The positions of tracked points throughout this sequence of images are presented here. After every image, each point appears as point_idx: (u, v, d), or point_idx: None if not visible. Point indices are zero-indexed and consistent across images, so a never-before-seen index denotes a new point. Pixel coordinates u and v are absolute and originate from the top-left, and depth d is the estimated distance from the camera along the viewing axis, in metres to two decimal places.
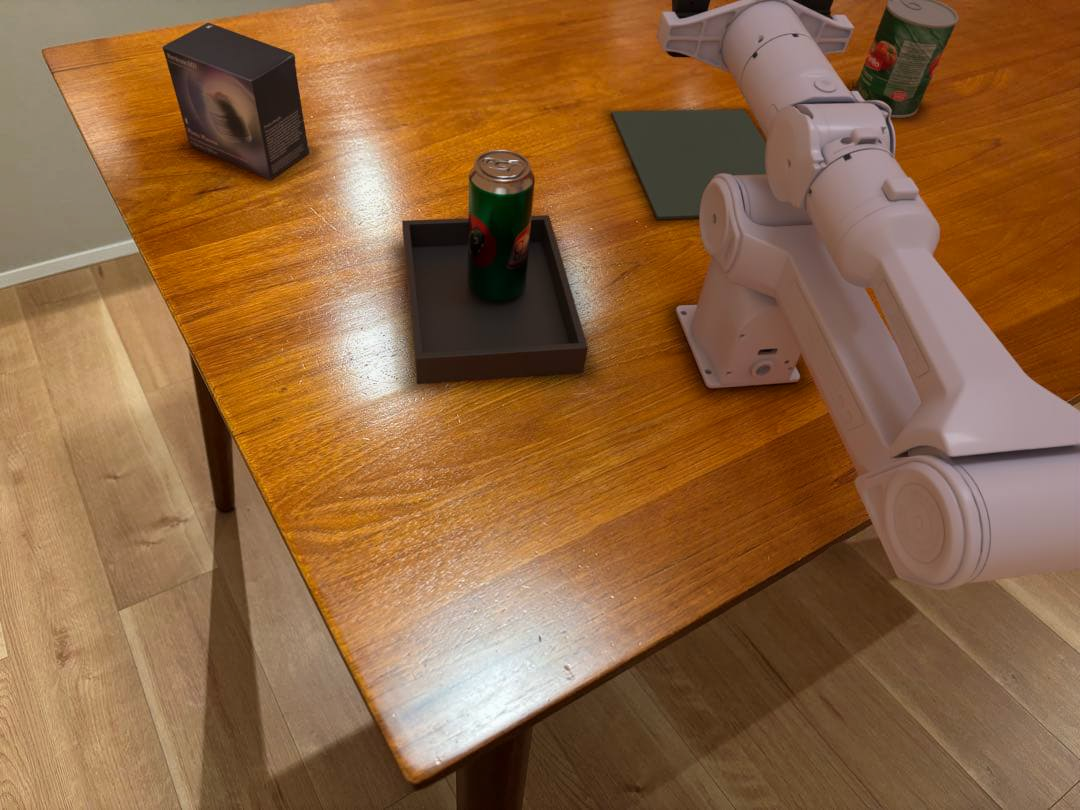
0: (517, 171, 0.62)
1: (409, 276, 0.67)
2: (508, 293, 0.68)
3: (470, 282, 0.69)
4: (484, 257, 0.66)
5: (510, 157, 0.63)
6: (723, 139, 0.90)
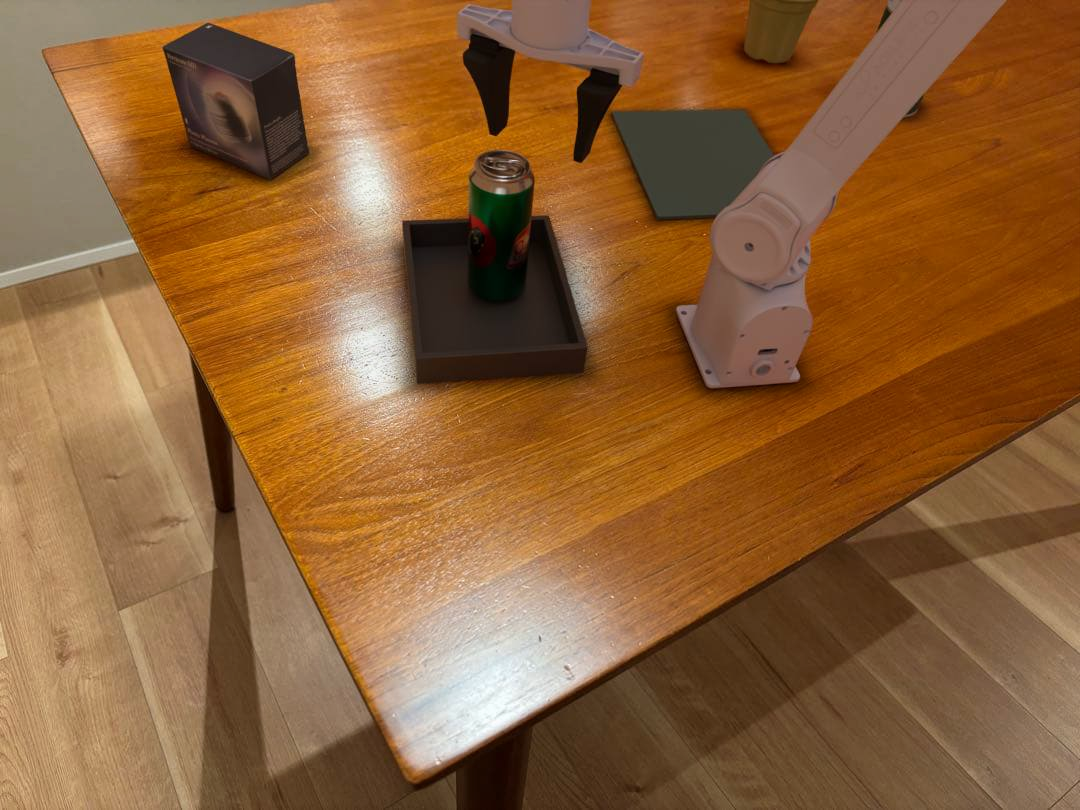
0: (517, 171, 0.62)
1: (409, 276, 0.67)
2: (508, 293, 0.68)
3: (470, 282, 0.69)
4: (484, 257, 0.66)
5: (510, 157, 0.63)
6: (723, 139, 0.90)
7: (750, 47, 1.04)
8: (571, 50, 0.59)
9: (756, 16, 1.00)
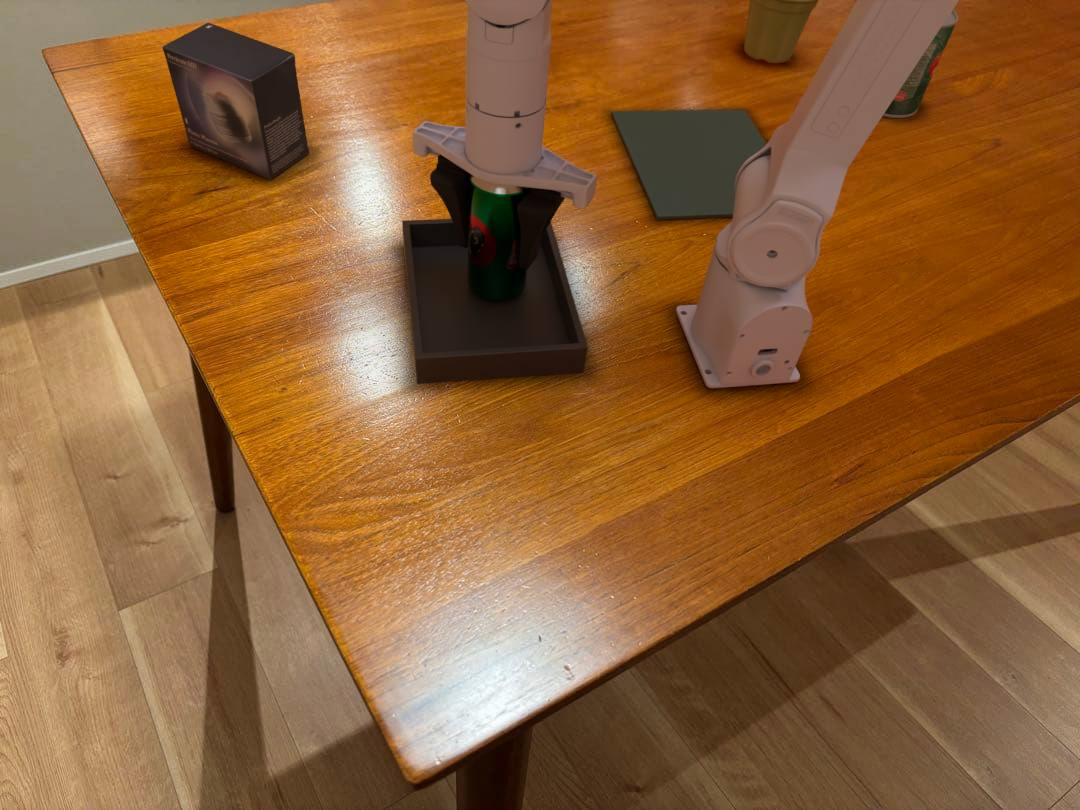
0: None
1: (409, 276, 0.67)
2: (508, 293, 0.68)
3: (470, 282, 0.69)
4: (484, 257, 0.66)
5: None
6: (723, 139, 0.90)
7: (750, 47, 1.04)
8: (524, 174, 0.60)
9: (756, 16, 1.00)
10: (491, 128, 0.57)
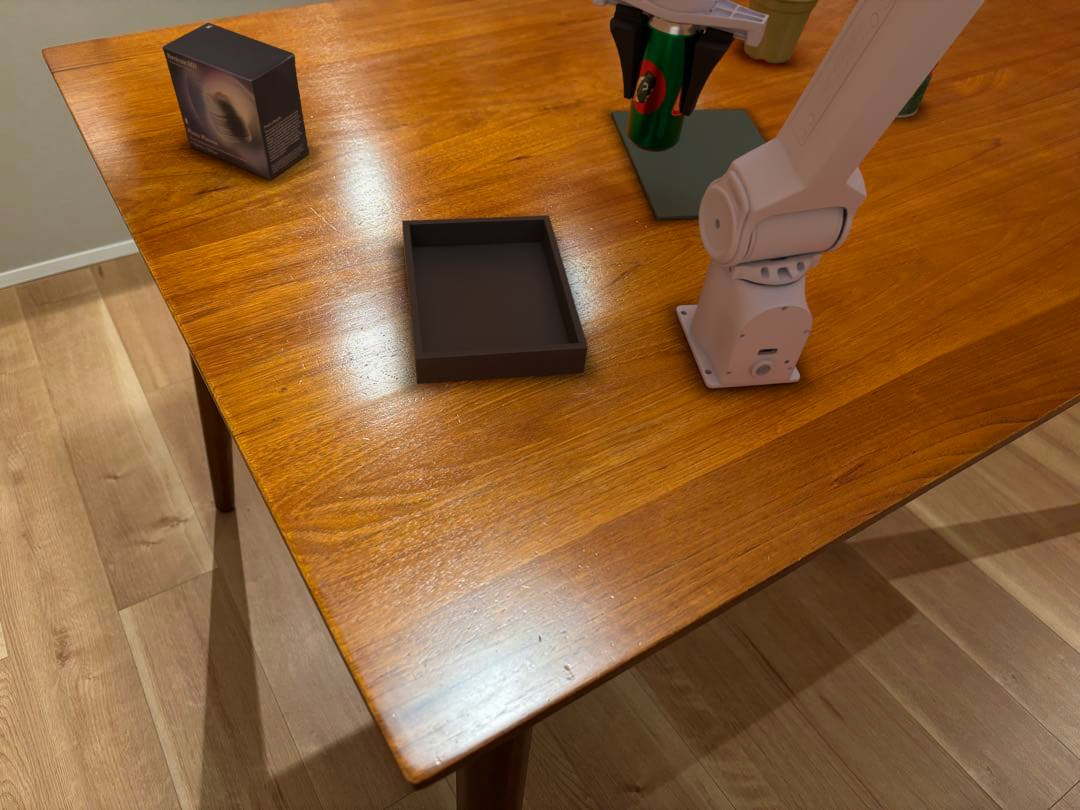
0: None
1: (409, 276, 0.67)
2: (667, 141, 0.74)
3: (631, 133, 0.75)
4: (652, 103, 0.72)
5: None
6: (723, 139, 0.90)
7: (750, 47, 1.04)
8: (704, 13, 0.66)
9: None
10: None
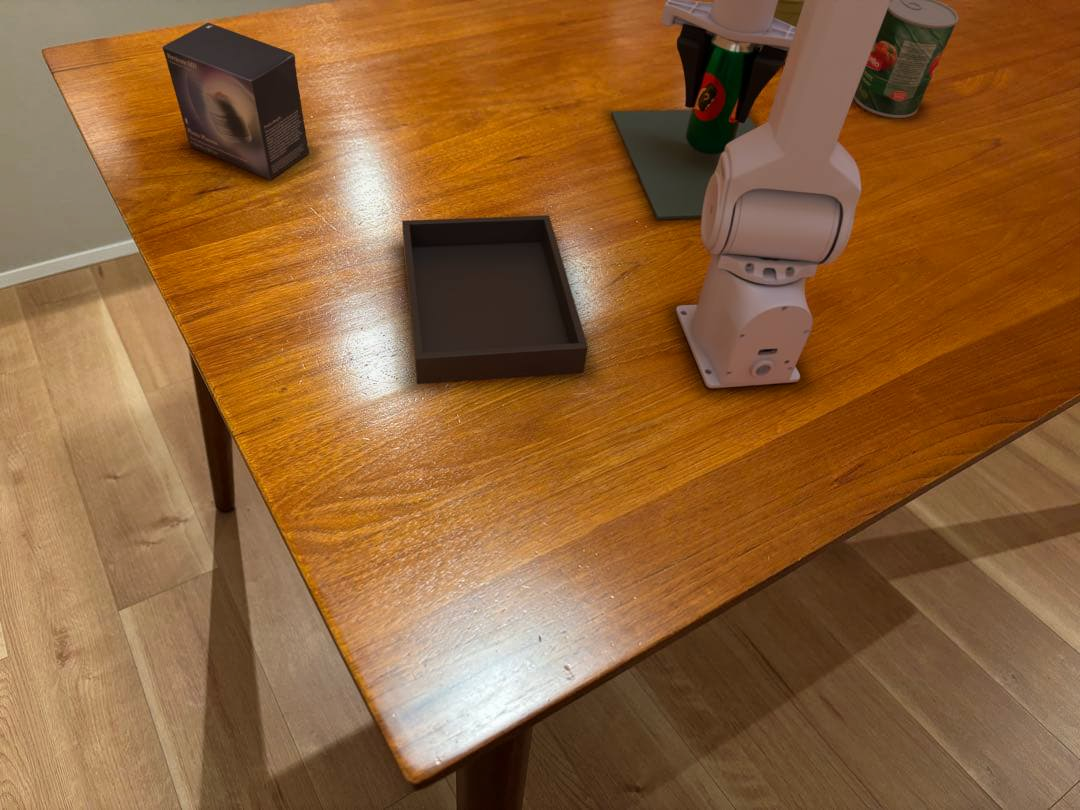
0: None
1: (409, 276, 0.67)
2: (724, 145, 0.84)
3: (691, 137, 0.84)
4: (712, 111, 0.81)
5: None
6: None
7: None
8: (762, 33, 0.75)
9: None
10: None
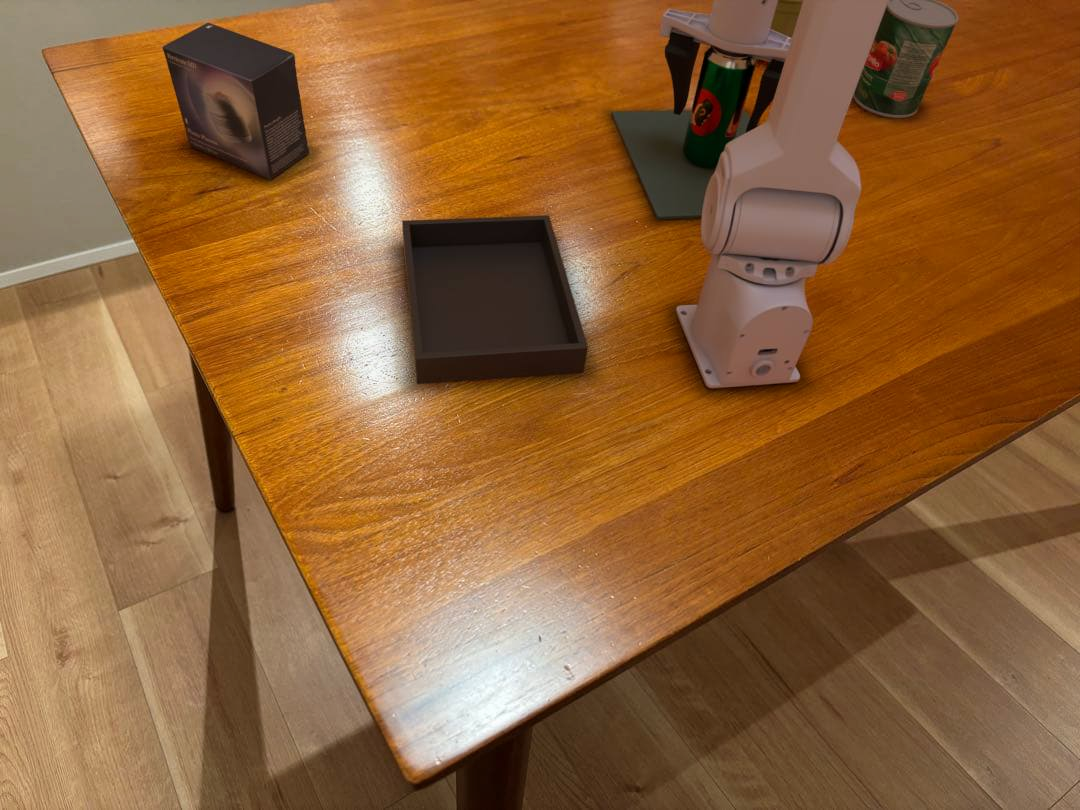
0: None
1: (409, 276, 0.67)
2: None
3: (688, 151, 0.85)
4: (708, 126, 0.82)
5: None
6: None
7: None
8: (759, 44, 0.76)
9: None
10: (742, 4, 0.73)
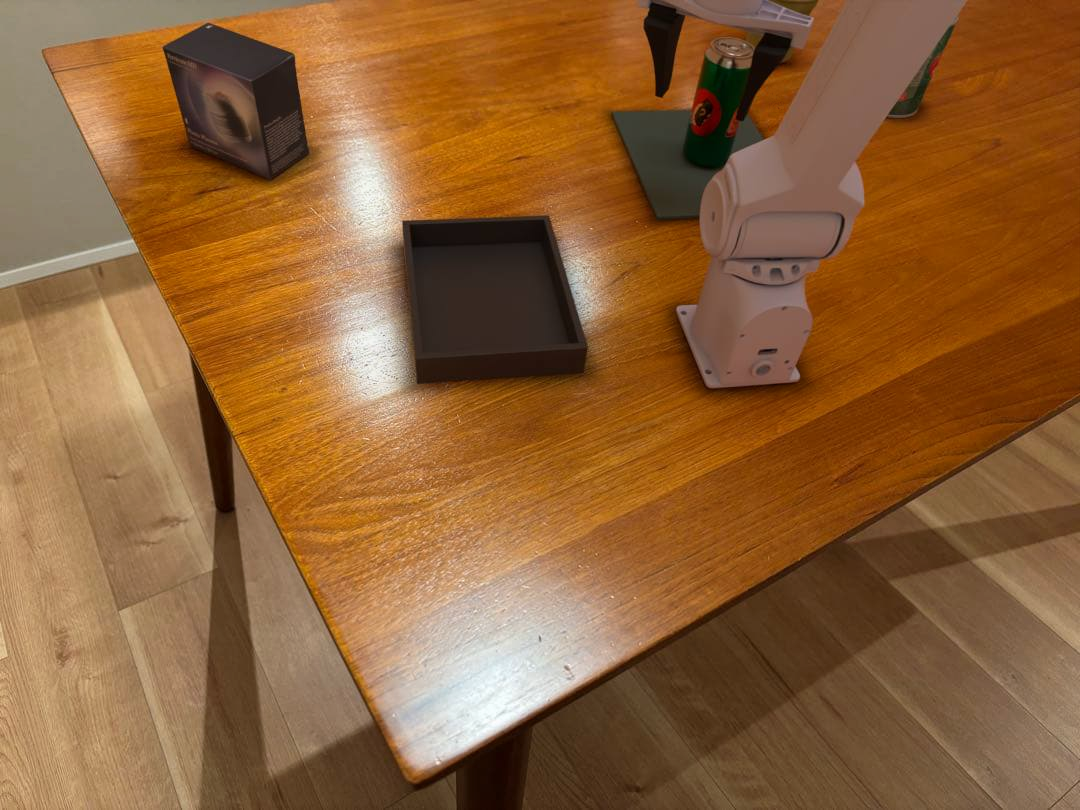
0: (745, 52, 0.78)
1: (409, 276, 0.67)
2: (720, 159, 0.85)
3: (688, 151, 0.85)
4: (708, 126, 0.82)
5: (737, 42, 0.79)
6: None
7: None
8: (750, 15, 0.66)
9: None
10: None
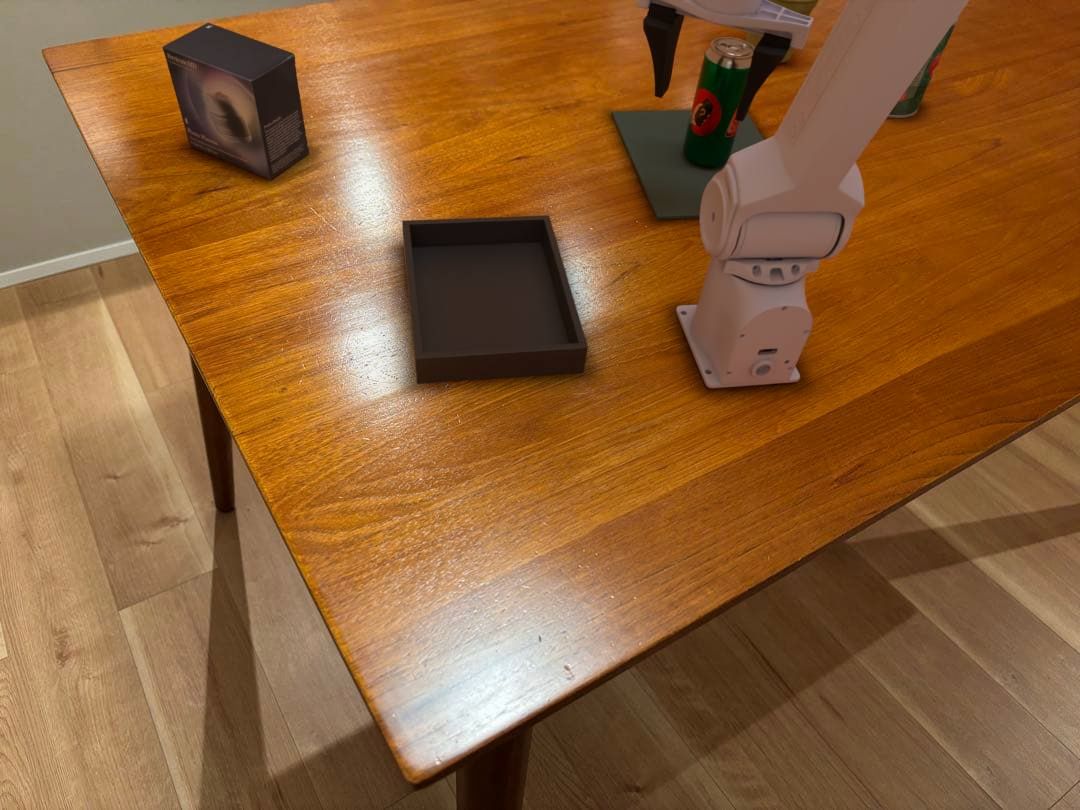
0: (745, 52, 0.78)
1: (409, 276, 0.67)
2: (720, 159, 0.85)
3: (688, 151, 0.85)
4: (708, 126, 0.82)
5: (737, 42, 0.79)
6: None
7: None
8: (750, 15, 0.66)
9: None
10: None
